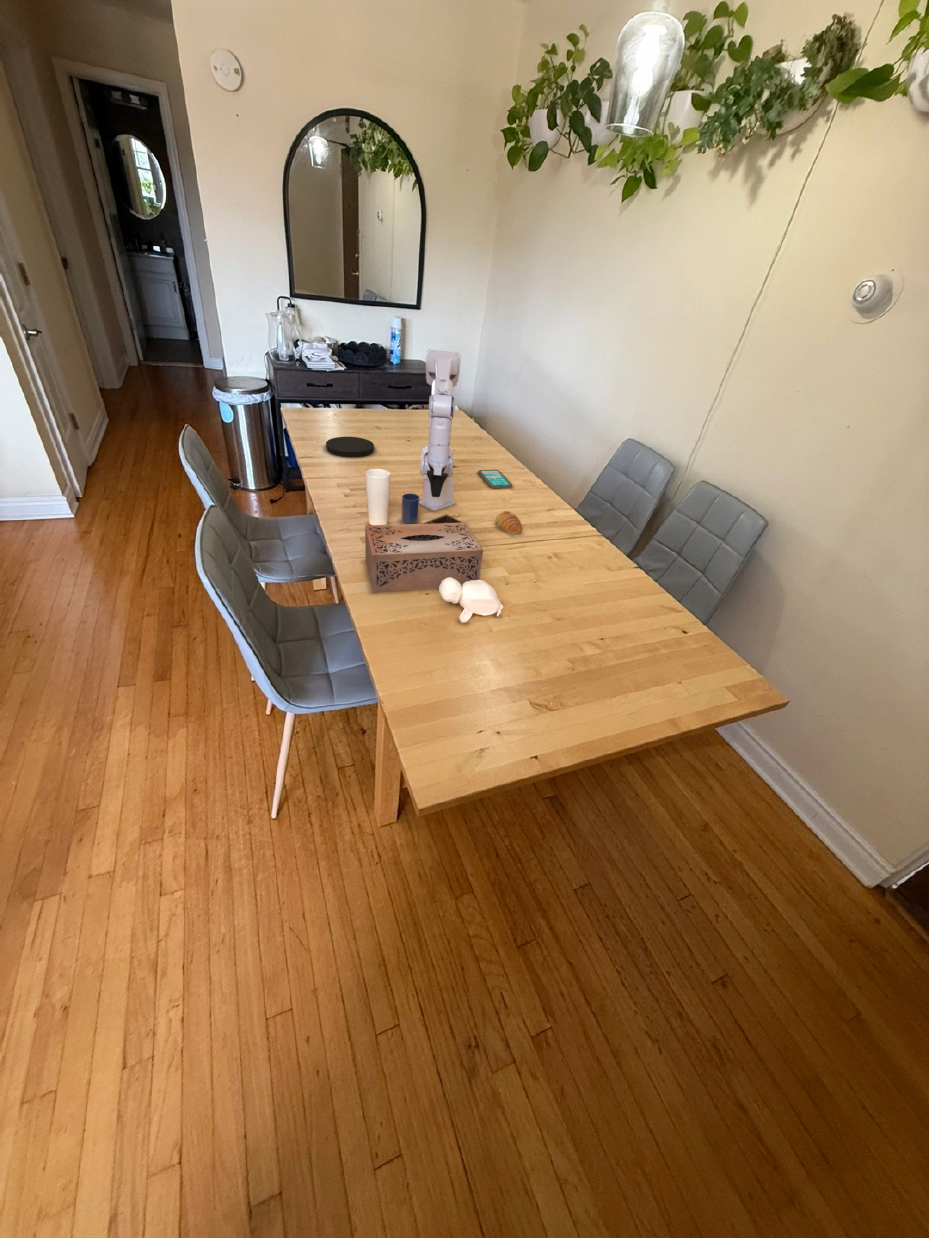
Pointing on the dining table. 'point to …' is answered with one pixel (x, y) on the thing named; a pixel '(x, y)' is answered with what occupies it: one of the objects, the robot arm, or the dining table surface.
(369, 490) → the drinking glass
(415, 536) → the tissue box cover
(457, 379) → the robot arm
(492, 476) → the smartphone
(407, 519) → the cup
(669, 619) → the dining table surface
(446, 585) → the white turtle figurine
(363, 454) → the wireless charger
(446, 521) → the cup holder
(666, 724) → the dining table surface
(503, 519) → the pastry
